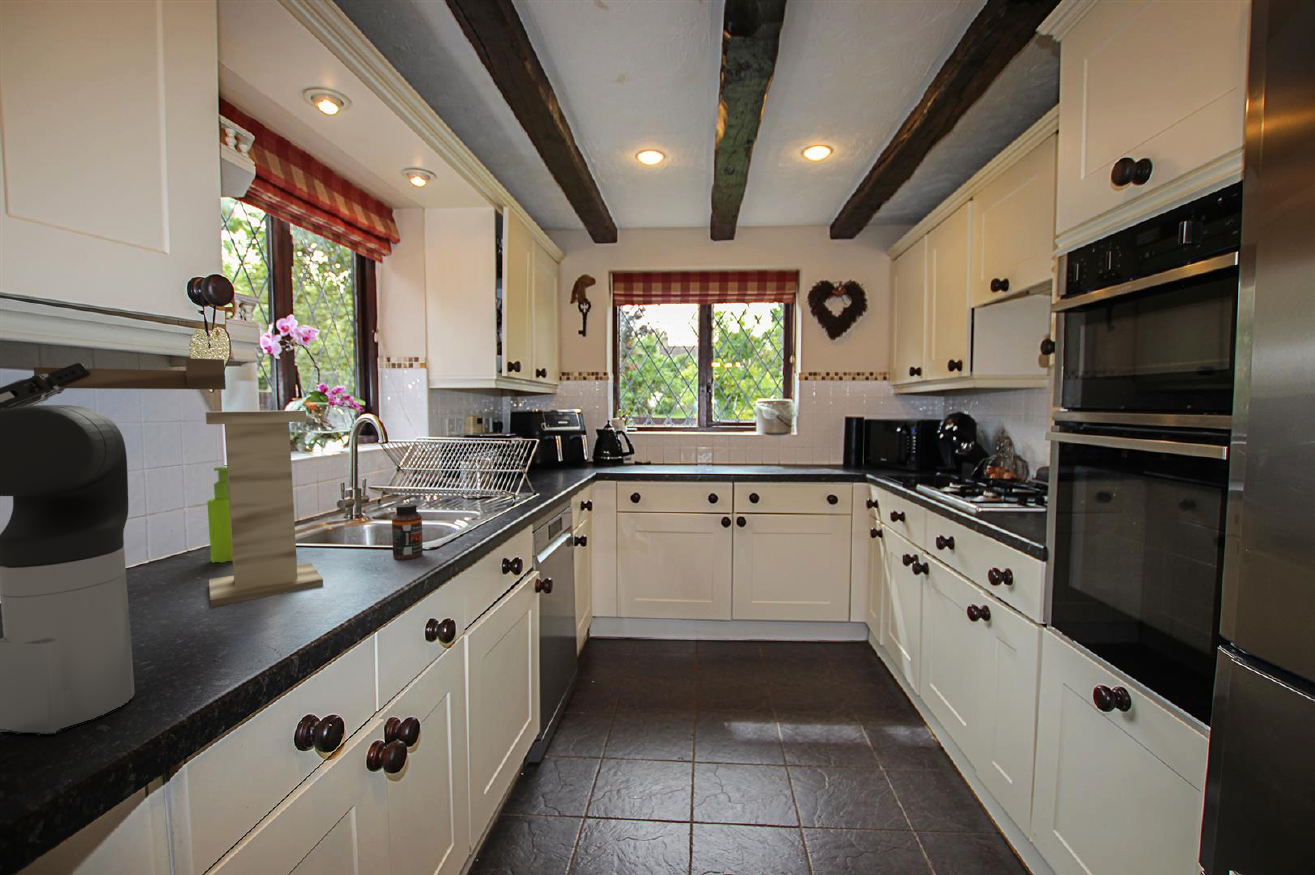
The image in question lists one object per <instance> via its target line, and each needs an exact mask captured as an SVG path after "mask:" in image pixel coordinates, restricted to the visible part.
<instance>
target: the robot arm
mask: <svg viewBox="0 0 1315 875" xmlns="http://www.w3.org/2000/svg"><path fill="white" fill-rule="evenodd" d="M62 368H63V369H60V370H58V371H55V372H53V373H50V375H51V376H50V375H49V374H48V373H47V374H41V375H37V376H36V375H35V376H34V375H32V376H31V377H29V378H23V379H19V380H16V381H13V382H11V383H9V384H5V385H3V386H0V497H12V511H11V515H10V518H9V520H8V522H7V524H6V526H5V527H4V529H3V530H2V532H0V607H1V608H0V609H1V622H2V631H3V632H2V633H3V637H2V638H0V729H6V730H12V731H18V732H40V733H43V732H45V733H48V732H56V731H57V730H59V729H60V728H64V727H68V726H70V725H73V724H78V723H81V722H84V721H87V720H91V719H93V720H95V719H94V718H96V717H98V716H100V715H103V716H105V715H104V714H106V713H108V712H110V711H112V710H114V709H116V708H118V707H120V708H121V707H122V705H123V706H124V705H126V704H128V703H129V700H130V699H131V700H132V699H133V697H134V696H135V678H134V676H135V675H134V666H133V665H134V664H133V663H134V662H133V650H132V638H131V624H130V614H129V613H130V610H129V597H128V584H127V581H128V580H127V567H126V554H125V545H124V544H125V542H124V531H125V527H126V523H127V520H128V517H129V516H128V515H129V481H128V480H129V479H128V478H129V476H128V459H127V458H128V456H127V448H126V444H125V439H124V436H123V435H122V432H121V431H120V429H119V427H118V426H117V424H115V422H114V421H113V420H112V419H110V418H109V417H107V416H106V415H104V414H103V413H101V412H99V411H96V410H94V409H91V408H87V407H83V406H77V405H63V404H61V405H60V404H46V405H45V404H41V403H43V402H46V401H48V400H49V398H51V397H53V396H55V395H59V394H62V393H63V392H64V391H65V390H66V389H67V388H61V387H63V386H65V385H68V384H70V383H73V382H75V381H78V380H80V379H83V378H85V377H88V376H89V375H90V372H89V371H88V370H87V369H86V368H89V367H88V366H87V365H86V364H83V363H81V362H76V363H73V364H71V365H68V366H65V367H62ZM59 385H60V386H61V387H60V386H59ZM35 386H36V387H37V388H35ZM39 404H40V405H39ZM131 700H130V701H131ZM125 703H126V704H125ZM118 709H119V708H118ZM116 710H117V709H116ZM114 711H115V710H114ZM112 712H113V711H112ZM110 713H111V712H110ZM108 714H109V713H108ZM106 715H107V714H106ZM96 719H97V718H96ZM91 721H92V720H91Z"/></svg>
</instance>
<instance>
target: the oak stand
mask: <svg viewBox="0 0 1315 875" xmlns="http://www.w3.org/2000/svg"><path fill="white" fill-rule="evenodd" d="M290 423H307V410H300V409H299V410H295V409H294V410H243V411H241V410H240V411H239V410H238V411H236V410H234V411H233V410H232V411H228V410H227V411H226V410H225V411H205V424H206V425H224V426H223V427H224V438H225V439H224V440H225V453H226V454H225V456H226V467H227V475H228V491H229V508H230V524H231V540H232V557H233V561H232V571H233V572H232V573H233V575H227V576H222V577H215V578H210V579H208V581H209V582H208V583H209V584H208V585H209V586H208V588H209V600H210V601H209V602H210V607H211V608H213V607H219V606H223V605H228V604H229V605H230V604H234V603H240V602H246V601H250V600H254V599H259V598H266V597H269V596H275V595H281V593H282V594H285V592H287V593H292V592H296V591H300V590H299V589H303V590H305V589H304V588H308V589H312V587H313V588H317V587H316V586H318V587H322V586H321V585H323V586H324V578H323V577H322V576H321V575H320V573H319V572H318V570H317V569H316V567H315V566H314V564H312V562H310V561H309V562H305V563H299V564H298V563H297V560H298V559H297V547H296V545H297V542H296V526H295V525H296V523H295V509H294V508H295V507H294V505H295V504H294V486H293V471H292V470H293V469H292V468H293V467H292V453H291V433H290V432H291V431H290V429H291V428H290ZM265 596H266V597H265Z"/></svg>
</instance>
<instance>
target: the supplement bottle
mask: <svg viewBox="0 0 1315 875" xmlns="http://www.w3.org/2000/svg"><path fill="white" fill-rule="evenodd" d="M395 507H396V508H395V509H396V510H395V511H396V514H395V515H393V516H392V517H391V532H392V539H391V540H392V558H394V559H396V558H397V559H396V560H411V559H410V558H412V559H415V558H418V557H421V556H422V555H423V552H424V551H423V550H424V549H423V520H422V519H423V518H422V515H421V514H420V513H419V512H418V507H417V504H416V503H403V504H402V503H401V504H396V506H395Z"/></svg>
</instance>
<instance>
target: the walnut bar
mask: <svg viewBox="0 0 1315 875" xmlns="http://www.w3.org/2000/svg"><path fill="white" fill-rule="evenodd" d="M63 368H64V367H46V366H44V367H43V366H42V367H41V366H39V367H37V366H33V376H35V375H36V376H37V375H41V374H47V373H48V374H49V375H50V373H53V372H55V371H58V370H60V369H63ZM225 368H226V367H225V359H221V358H220V359H219V358H218V359H217V358H195V357H194V358H192V357H191V358H190V357H185V370H178V369H177V370H174V369H173V370H171V369H169V370H168V369H131V368H128V369H127V368H126V369H125V368H92V367H91V368H89V367H88V368H86V369H87V370H88V371H89V372H90V375H89V376H88V377H85V378H83V379H80V380H78V381H75V382H73V383H70V384H68V385H65V386H63V387H61V386H60V385H59V386H60V387H61V388H66V389H82V390H83V389H84V390H85V389H86V390H87V389H91V390H93V389H98V390H101V389H104V390H105V389H106V390H107V389H109V390H112V389H114V390H118V389H119V390H120V389H121V390H122V389H123V390H212V391H213V390H216V391H217V390H218V391H219V390H226V388H227V387H226V386H227V384H226V371H225ZM50 376H51V375H50ZM35 388H37V387H36V386H35Z"/></svg>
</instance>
